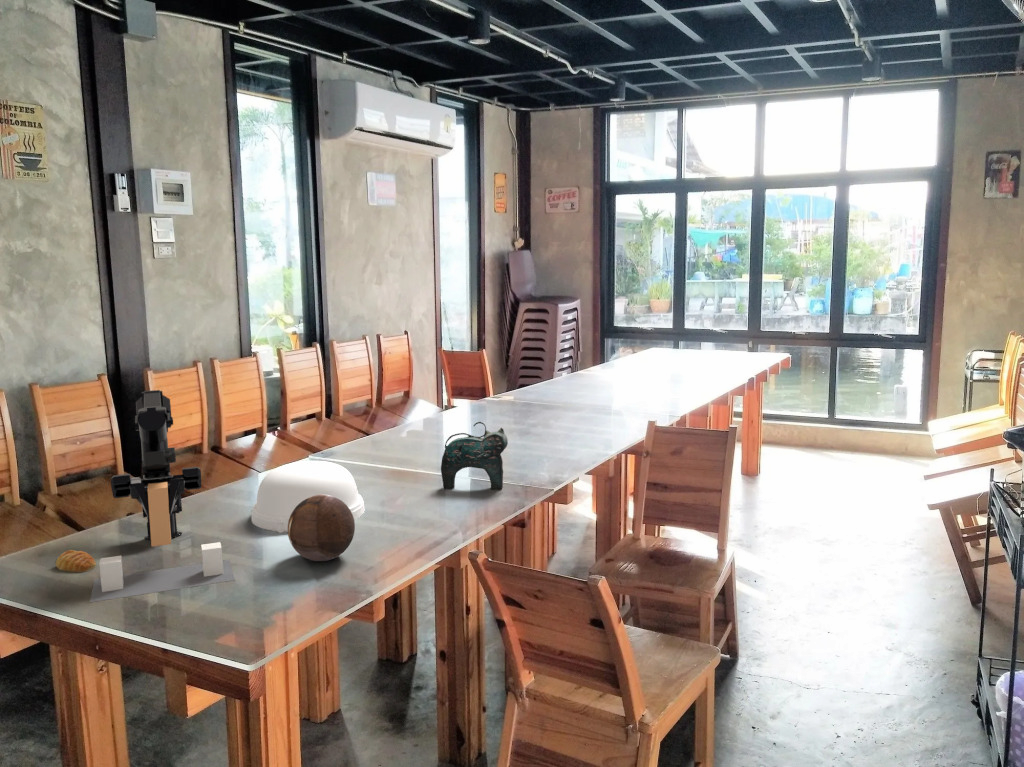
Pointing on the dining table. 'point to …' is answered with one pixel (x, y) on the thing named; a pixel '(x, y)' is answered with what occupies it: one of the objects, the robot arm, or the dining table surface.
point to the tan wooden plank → (159, 514)
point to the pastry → (75, 561)
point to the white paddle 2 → (212, 559)
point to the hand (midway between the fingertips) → (159, 514)
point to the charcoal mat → (162, 581)
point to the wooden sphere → (321, 527)
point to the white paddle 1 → (111, 573)
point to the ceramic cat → (475, 456)
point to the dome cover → (302, 491)
